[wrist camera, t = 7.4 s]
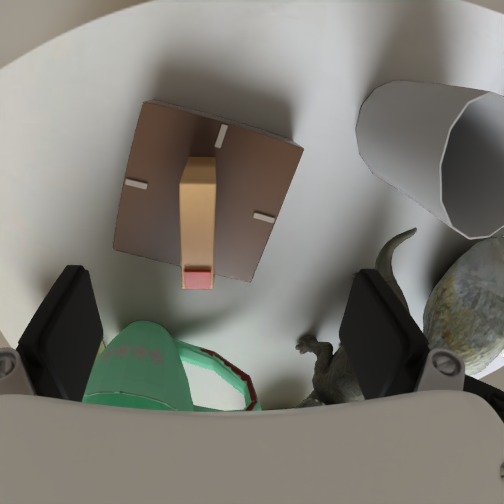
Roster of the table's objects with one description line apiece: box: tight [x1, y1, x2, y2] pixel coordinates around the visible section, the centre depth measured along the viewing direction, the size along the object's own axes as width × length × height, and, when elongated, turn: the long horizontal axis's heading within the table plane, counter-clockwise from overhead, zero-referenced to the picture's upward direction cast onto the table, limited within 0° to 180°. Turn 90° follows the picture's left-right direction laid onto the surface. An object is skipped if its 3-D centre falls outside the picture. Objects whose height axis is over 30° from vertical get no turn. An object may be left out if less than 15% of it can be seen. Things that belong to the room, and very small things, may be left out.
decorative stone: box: [423, 237, 504, 376], centre depth 26 cm, size 14×15×10 cm
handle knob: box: [179, 157, 216, 289], centre depth 17 cm, size 6×2×6 cm, turn 176°
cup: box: [356, 80, 504, 240], centre depth 17 cm, size 8×8×10 cm
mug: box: [82, 321, 262, 412], centre depth 24 cm, size 15×10×10 cm
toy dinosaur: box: [293, 228, 417, 409], centre depth 25 cm, size 22×8×11 cm, turn 150°
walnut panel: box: [113, 100, 304, 282], centre depth 21 cm, size 10×10×3 cm
